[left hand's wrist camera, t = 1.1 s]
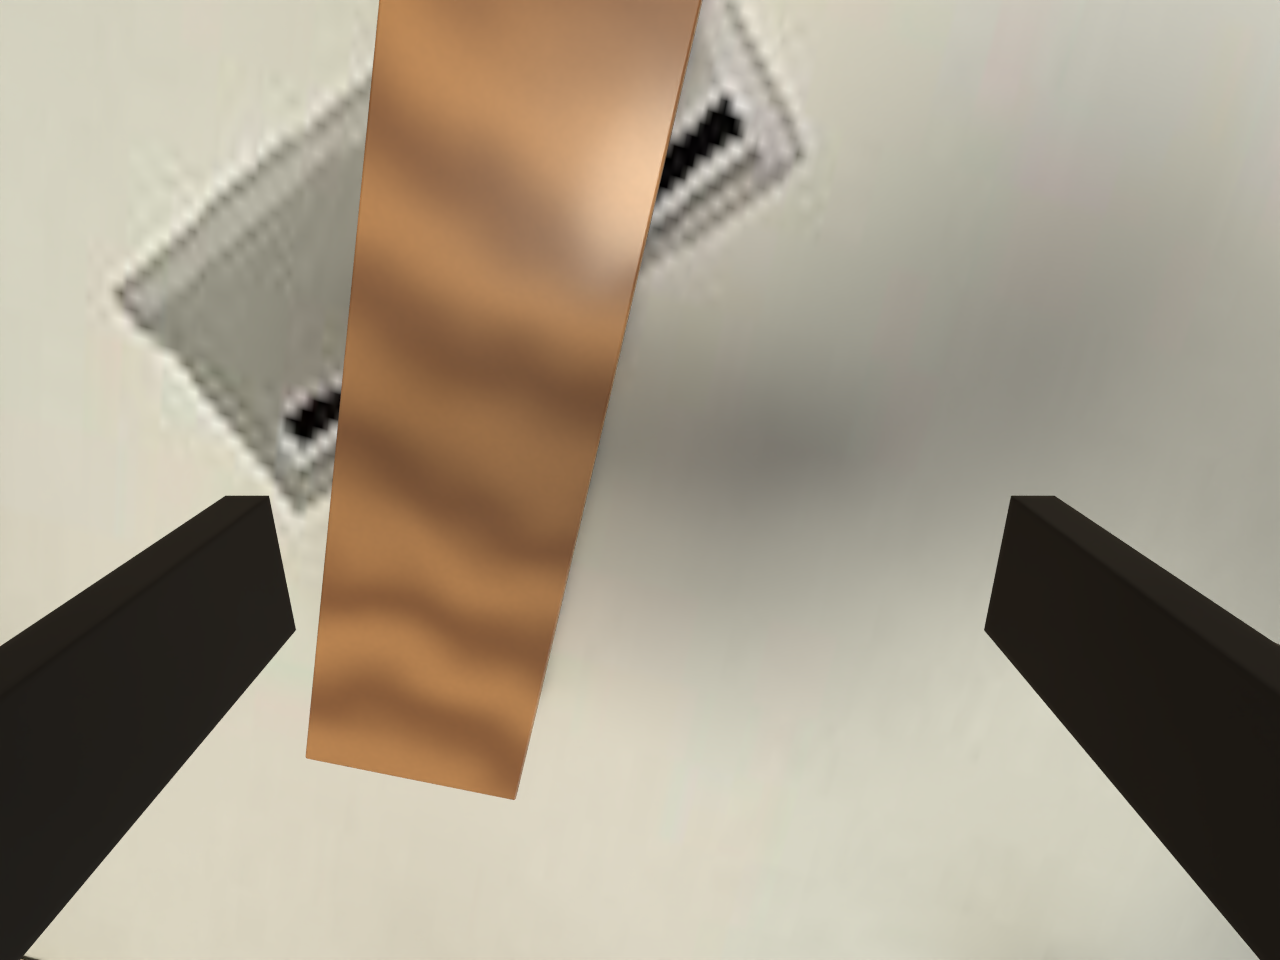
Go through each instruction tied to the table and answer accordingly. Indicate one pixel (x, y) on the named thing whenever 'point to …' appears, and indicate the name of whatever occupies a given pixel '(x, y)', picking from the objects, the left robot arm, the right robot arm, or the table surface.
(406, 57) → the thick board
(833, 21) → the table surface
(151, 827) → the table surface
